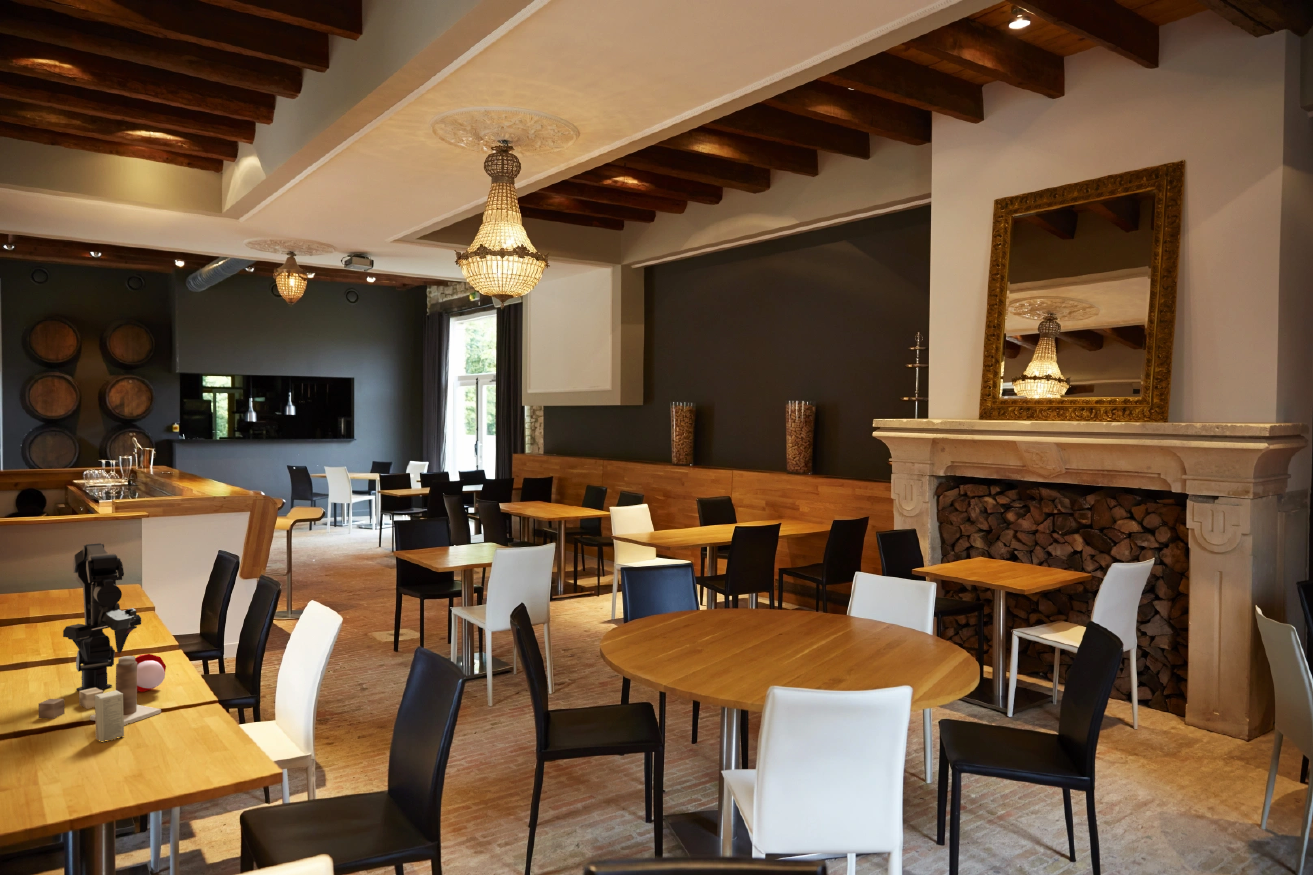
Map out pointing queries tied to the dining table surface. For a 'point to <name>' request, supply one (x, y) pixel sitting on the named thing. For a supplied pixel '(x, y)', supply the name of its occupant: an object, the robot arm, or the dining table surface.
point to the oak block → (88, 697)
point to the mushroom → (149, 672)
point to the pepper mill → (127, 683)
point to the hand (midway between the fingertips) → (103, 656)
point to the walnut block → (51, 708)
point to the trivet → (137, 714)
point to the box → (109, 715)
